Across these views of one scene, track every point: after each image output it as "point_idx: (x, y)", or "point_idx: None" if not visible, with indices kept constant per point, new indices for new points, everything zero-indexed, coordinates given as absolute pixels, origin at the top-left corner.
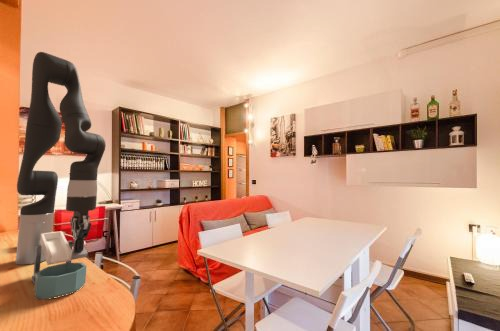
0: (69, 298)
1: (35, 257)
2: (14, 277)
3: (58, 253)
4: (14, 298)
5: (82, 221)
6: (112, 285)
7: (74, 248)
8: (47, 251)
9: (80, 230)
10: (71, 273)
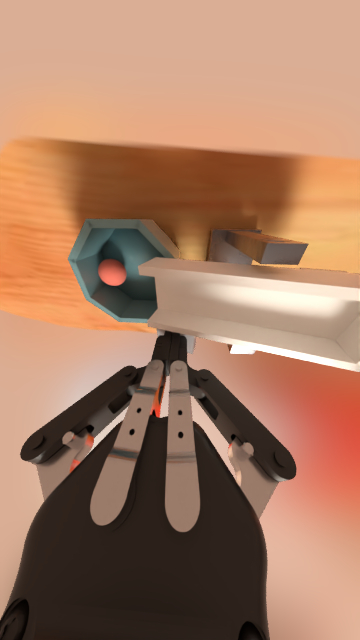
0: None
1: (262, 236)
2: (336, 191)
3: (203, 299)
4: (157, 174)
5: (66, 475)
6: (110, 325)
7: (165, 337)
8: (175, 270)
9: (68, 408)
10: (82, 289)
